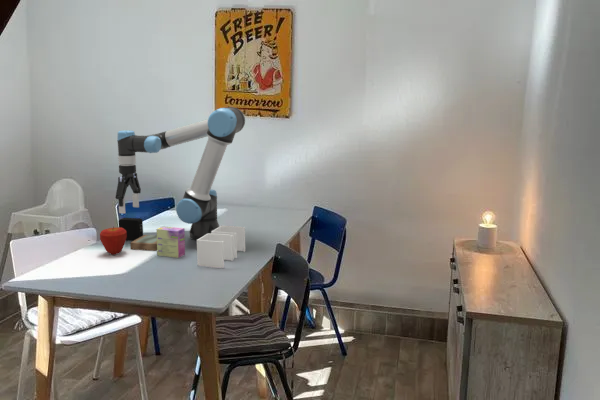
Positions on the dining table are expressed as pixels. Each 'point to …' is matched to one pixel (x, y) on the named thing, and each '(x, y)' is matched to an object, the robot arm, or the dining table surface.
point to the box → (171, 242)
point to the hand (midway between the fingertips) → (129, 210)
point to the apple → (113, 239)
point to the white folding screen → (220, 246)
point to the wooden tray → (145, 243)
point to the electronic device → (132, 227)
